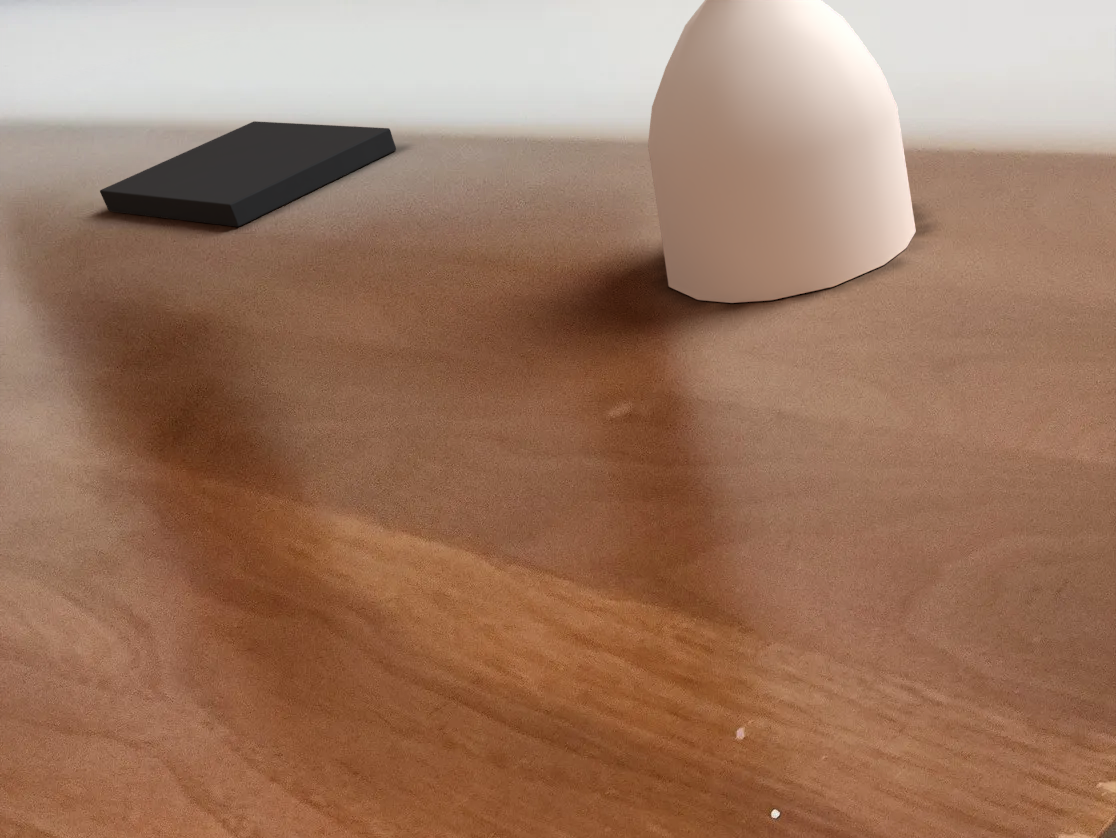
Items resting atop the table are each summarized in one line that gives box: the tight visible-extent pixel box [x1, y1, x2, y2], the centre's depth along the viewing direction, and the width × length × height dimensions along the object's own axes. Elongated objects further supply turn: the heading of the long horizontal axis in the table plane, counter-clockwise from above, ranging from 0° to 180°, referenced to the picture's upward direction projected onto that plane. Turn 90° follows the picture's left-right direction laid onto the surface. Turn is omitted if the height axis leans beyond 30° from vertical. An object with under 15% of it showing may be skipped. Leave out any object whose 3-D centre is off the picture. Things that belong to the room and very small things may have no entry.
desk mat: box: [99, 120, 397, 228], centre depth 86 cm, size 14×12×1 cm
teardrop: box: [647, 0, 917, 304], centre depth 58 cm, size 11×11×12 cm
